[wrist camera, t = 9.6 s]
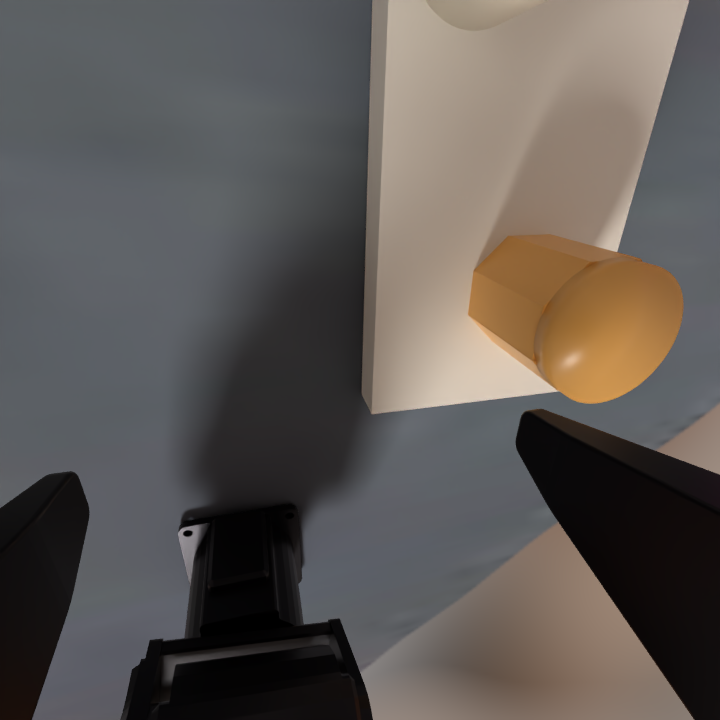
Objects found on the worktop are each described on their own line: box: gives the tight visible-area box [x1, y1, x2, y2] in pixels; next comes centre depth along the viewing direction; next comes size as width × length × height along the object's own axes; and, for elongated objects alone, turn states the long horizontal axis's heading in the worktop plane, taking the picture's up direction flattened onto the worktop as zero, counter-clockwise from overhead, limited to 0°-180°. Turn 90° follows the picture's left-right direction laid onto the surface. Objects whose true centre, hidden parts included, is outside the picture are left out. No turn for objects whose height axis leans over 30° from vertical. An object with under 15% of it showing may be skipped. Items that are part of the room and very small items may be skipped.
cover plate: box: [362, 0, 689, 414], centre depth 16 cm, size 20×12×8 cm, turn 178°
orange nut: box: [468, 234, 683, 403], centre depth 17 cm, size 5×5×6 cm
